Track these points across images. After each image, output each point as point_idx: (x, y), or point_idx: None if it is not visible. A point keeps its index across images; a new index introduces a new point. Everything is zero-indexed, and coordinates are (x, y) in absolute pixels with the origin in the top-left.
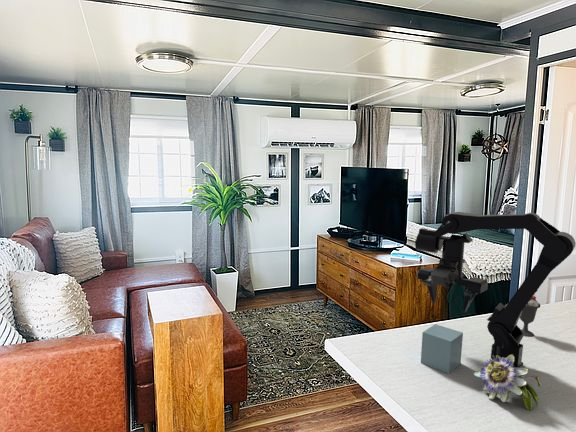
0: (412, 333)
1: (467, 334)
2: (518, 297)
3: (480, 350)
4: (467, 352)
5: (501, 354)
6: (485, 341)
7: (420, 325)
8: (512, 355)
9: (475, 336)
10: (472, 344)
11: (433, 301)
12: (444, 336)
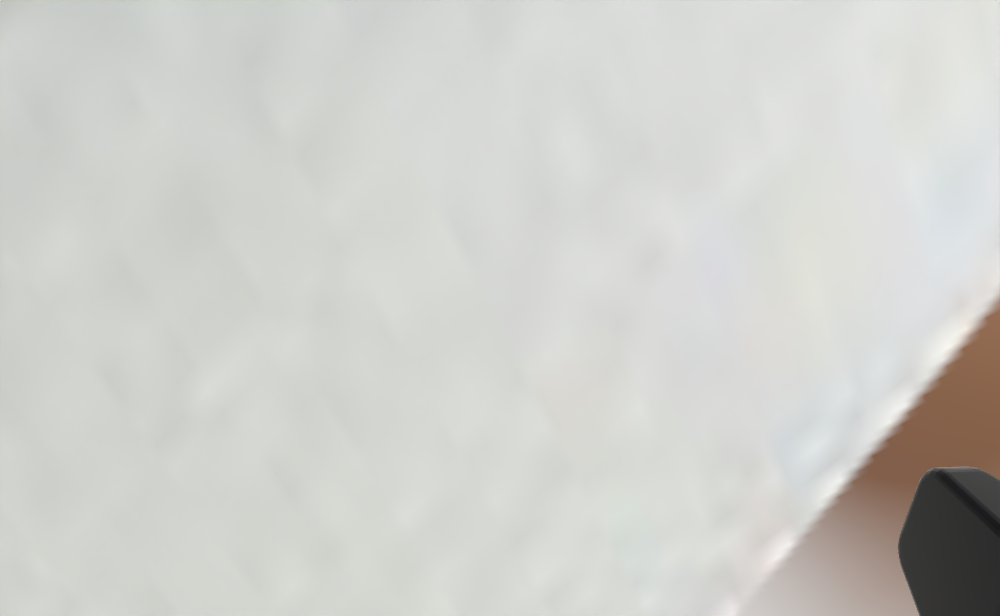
0: (935, 109)
1: (379, 561)
2: None
3: (39, 308)
4: (100, 126)
5: None
6: (153, 547)
7: (903, 402)
8: None
9: (293, 576)
10: (200, 385)
11: (987, 507)
12: None
